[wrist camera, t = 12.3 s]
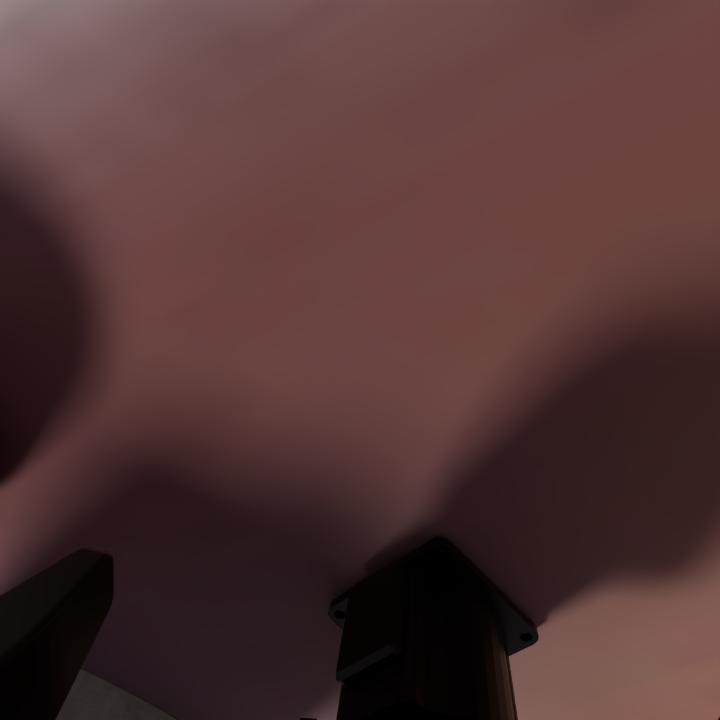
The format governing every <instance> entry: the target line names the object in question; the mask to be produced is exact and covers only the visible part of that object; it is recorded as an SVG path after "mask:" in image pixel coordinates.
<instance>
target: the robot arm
mask: <svg viewBox="0 0 720 720" xmlns="http://www.w3.org/2000/svg"><path fill="white" fill-rule="evenodd" d="M439 549H442V550H444V552H437V551H436V550H439ZM113 595H114V575H113V557H112V555H111V554H110V553H108V552H105V551H101V550H96V549H92V548H82V549H79V550H77V551H75V552H74V553H72V554H70V555H69V556H67V557H65V558H64V559H62V560H60V561H59V562H57V563H55V564H53V565H52V566H50V567H48V568H47V569H45V570H43V571H42V572H40V573H38V574H37V575H35V576H33V577H31V578H30V579H28V580H26V581H25V582H23V583H21V584H20V585H18V586H16V587H15V588H13V589H11V590H9V591H8V592H6V593H4V594H3V595H1V596H0V720H56V718H57V716H58V714H59V712H60V710H61V708H62V706H63V704H64V702H65V700H66V698H67V696H68V694H69V692H70V690H71V688H72V686H73V684H74V682H75V680H76V677H77V675H78V673H79V671H80V669H81V667H82V665H83V663H84V661H85V659H86V657H87V655H88V653H89V651H90V649H91V647H92V644H93V642H94V640H95V638H96V636H97V634H98V632H99V630H100V628H101V626H102V624H103V622H104V620H105V618H106V616H107V614H108V611H109V609H110V606H111V604H112V600H113ZM339 610H342V611H339ZM328 614H329V617H330V618H331V619H332V620H333V621H334V622H335V623H336V624H337V625H338V626H340V627H341V628H342V629H343V634H342V640H341V646H340V652H339V658H338V664H337V670H336V680H337V681H338V682H339V683H340V684H342V686H341V693H340V699H339V706H338V712H337V719H336V720H518V718H517V711H516V704H515V697H514V690H513V683H512V676H511V670H510V663H509V656H510V655H512V654H515V653H517V652H519V651H521V650H523V649H525V648H527V647H529V646H531V645H533V644H535V643H536V642H537V641H538V631H537V627H536V625H535V624H534V623H533V622H532V621H531V620H530V619H529V618H528V617H527V616H526V615H525V614H524V613H523V612H522V611H521V610H520V609H519V608H518V607H517V606H516V605H515V604H514V603H513V602H512V601H511V600H510V599H509V598H508V597H507V596H506V595H505V594H504V593H503V592H502V591H500V590H499V589H498V588H497V587H496V586H495V585H494V584H493V583H492V582H491V581H490V580H489V579H488V578H487V577H486V576H485V575H484V574H483V573H482V572H481V571H480V570H479V569H478V568H477V567H476V566H475V565H474V564H473V563H472V562H471V561H470V560H469V559H468V558H467V557H466V556H465V555H464V554H463V553H462V552H461V551H460V550H459V549H458V548H457V547H456V546H455V545H454V544H453V543H452V542H451V541H449V540H448V539H446V538H442V537H438V538H434V539H432V540H430V541H429V542H427V543H425V544H424V545H422V546H421V547H419V548H417V549H416V550H414V551H412V552H411V553H409V554H407V555H406V556H404V557H403V558H401V559H399V560H398V561H395V562H392V563H390V564H389V565H387V566H385V567H384V568H382V569H380V570H379V571H377V572H376V573H374V574H372V575H371V576H369V577H367V578H366V579H364V580H363V581H361V582H359V583H358V584H356V585H354V586H353V587H351V588H350V590H349V591H347V592H346V593H344V594H342V595H341V596H339V597H337V598H336V599H334V600H333V601H332V602H331V603H330V607H329V612H328ZM300 720H317V719H312V718H300ZM718 720H720V717H719V719H718Z"/></svg>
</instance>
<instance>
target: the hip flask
mask: <svg viewBox="0 0 720 720" xmlns="http://www.w3.org/2000/svg"><path fill="white" fill-rule="evenodd" d="M56 720H177V719H176V718H174V717H172V716H170V715H169V714H167V713H165V712H164V711H162V710H160V709H158V708H157V707H155V706H153V705H151V704H150V703H148V702H146V701H144V700H142V699H140V698H139V697H137V696H135V695H133V694H131V693H129V692H127V691H125V690H123V689H121V688H119V687H118V686H116V685H114V684H112V683H110V682H108V681H106V680H104V679H102V678H100V677H98V676H96V675H94V674H91V673H89V672H87V671H85V670H83V669H80V671H79V673H78V675H77V677H76V680H75V682H74V684H73V686H72V688H71V690H70V692H69V694H68V696H67V698H66V700H65V702H64V704H63V706H62V708H61V710H60V712H59V714H58V716H57V718H56Z"/></svg>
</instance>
